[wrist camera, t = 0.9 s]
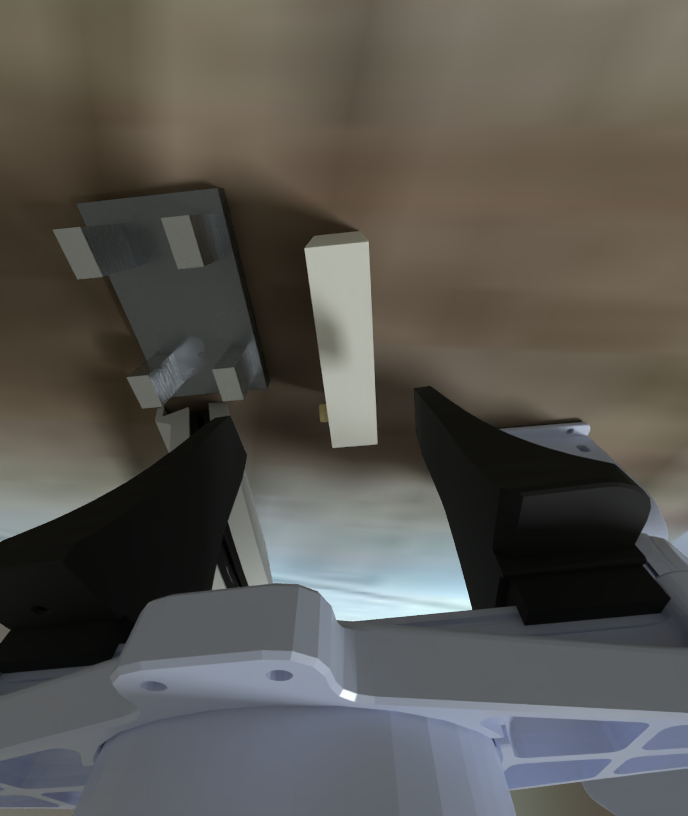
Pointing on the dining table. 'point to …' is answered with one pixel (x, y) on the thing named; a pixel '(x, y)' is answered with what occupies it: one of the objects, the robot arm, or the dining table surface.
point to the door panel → (344, 335)
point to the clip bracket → (174, 291)
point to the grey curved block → (243, 534)
